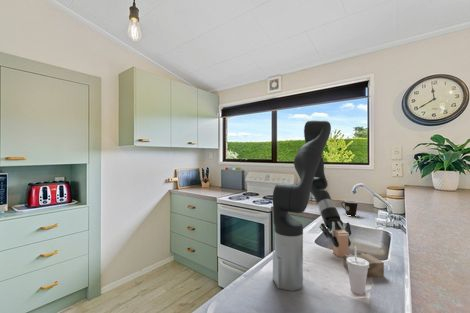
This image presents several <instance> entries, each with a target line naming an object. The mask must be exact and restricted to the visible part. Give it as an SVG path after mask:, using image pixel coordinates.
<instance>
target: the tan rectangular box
mask: <svg viewBox="0 0 470 313" xmlns="http://www.w3.org/2000/svg"><path fill="white" fill-rule="evenodd" d="M334 233H335V237H336V238H337V241H338V243H339V246H338V247H335V246H334V244H333V243H332V245H333V246H332V253H333V254H334V255H335V256H337V257H338V258H339V257H340V258H341V257H343V258H344V254H349V247H348V238H349V237H348V235H349V234H348V232H346V231H344V230H334Z"/></svg>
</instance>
